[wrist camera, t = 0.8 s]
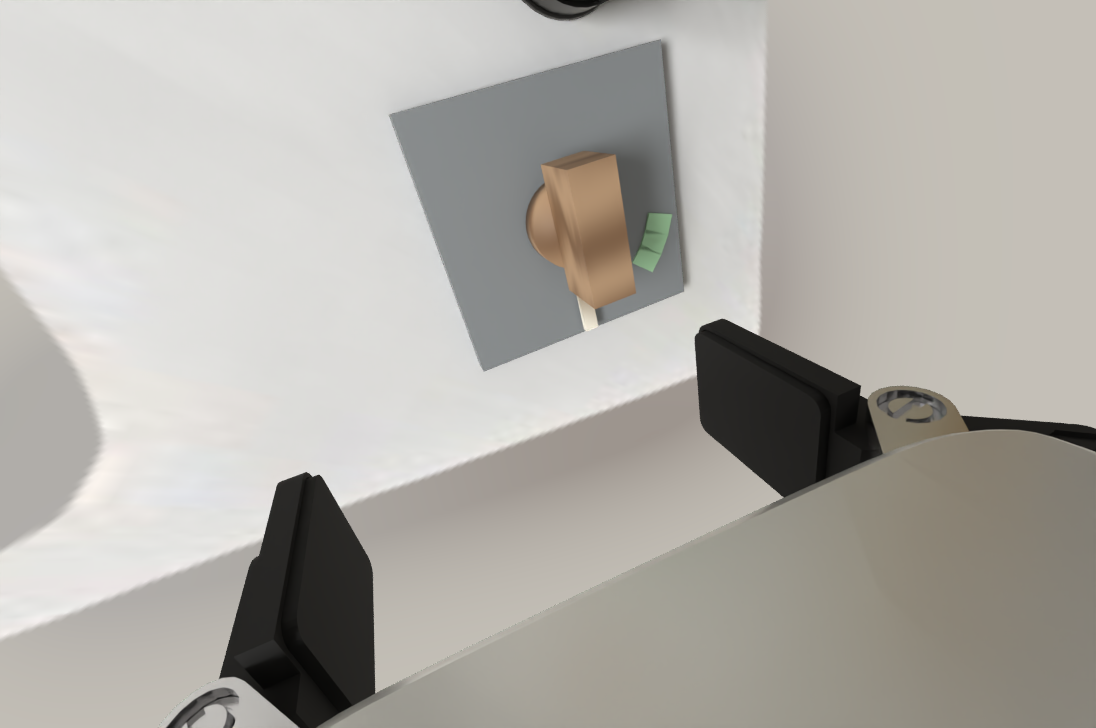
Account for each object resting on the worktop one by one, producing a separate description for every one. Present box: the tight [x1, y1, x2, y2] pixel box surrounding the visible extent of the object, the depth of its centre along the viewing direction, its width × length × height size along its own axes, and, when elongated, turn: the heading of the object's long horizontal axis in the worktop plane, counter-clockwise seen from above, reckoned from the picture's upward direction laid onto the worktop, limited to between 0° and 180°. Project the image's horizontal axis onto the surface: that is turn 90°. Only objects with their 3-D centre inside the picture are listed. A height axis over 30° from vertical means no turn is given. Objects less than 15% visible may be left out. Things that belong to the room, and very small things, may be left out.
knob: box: [526, 151, 636, 331], centre depth 38 cm, size 15×7×7 cm, turn 14°
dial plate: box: [389, 40, 684, 371], centre depth 40 cm, size 21×21×2 cm
